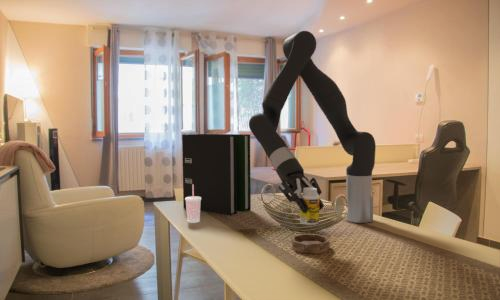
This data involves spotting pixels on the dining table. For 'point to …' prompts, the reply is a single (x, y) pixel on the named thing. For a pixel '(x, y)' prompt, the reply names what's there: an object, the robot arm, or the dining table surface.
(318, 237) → the collar dish
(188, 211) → the beverage cup
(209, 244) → the dining table surface
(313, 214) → the supplement bottle
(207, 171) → the binder
